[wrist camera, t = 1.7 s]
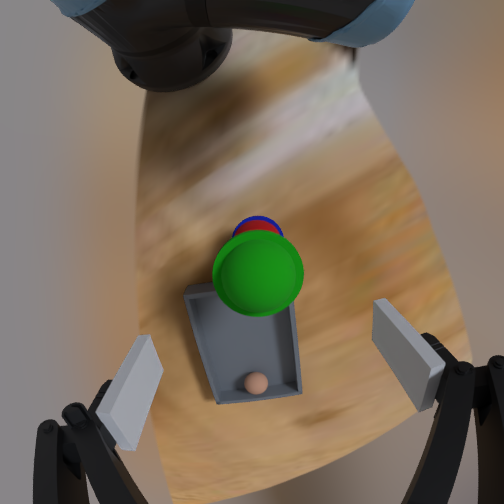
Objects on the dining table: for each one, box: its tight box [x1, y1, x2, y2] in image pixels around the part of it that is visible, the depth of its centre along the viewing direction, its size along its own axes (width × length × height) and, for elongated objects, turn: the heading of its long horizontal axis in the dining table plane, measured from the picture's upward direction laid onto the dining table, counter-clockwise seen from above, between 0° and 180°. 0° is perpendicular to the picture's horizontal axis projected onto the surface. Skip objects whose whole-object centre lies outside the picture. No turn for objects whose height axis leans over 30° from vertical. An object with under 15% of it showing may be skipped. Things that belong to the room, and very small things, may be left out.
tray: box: [183, 282, 302, 404], centre depth 39 cm, size 19×13×3 cm
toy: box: [212, 216, 304, 317], centre depth 29 cm, size 8×8×15 cm
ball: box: [244, 372, 268, 395], centre depth 40 cm, size 4×4×4 cm
